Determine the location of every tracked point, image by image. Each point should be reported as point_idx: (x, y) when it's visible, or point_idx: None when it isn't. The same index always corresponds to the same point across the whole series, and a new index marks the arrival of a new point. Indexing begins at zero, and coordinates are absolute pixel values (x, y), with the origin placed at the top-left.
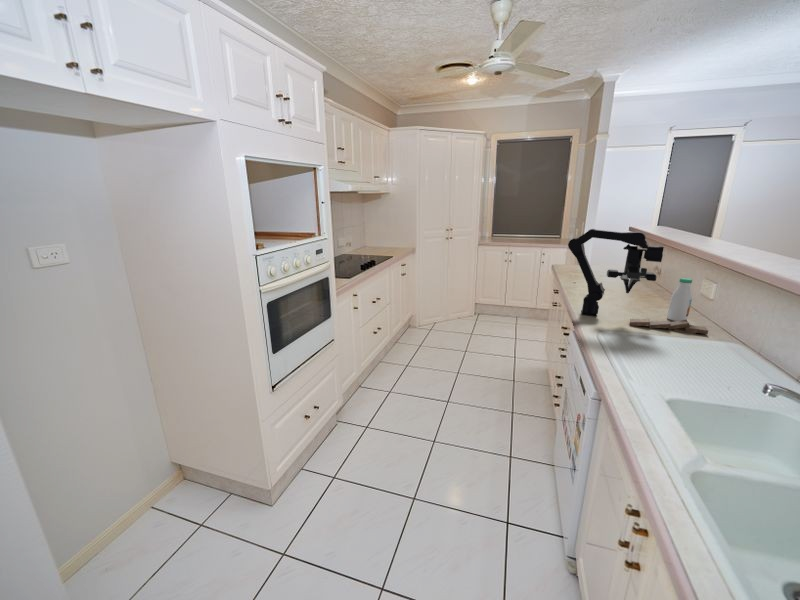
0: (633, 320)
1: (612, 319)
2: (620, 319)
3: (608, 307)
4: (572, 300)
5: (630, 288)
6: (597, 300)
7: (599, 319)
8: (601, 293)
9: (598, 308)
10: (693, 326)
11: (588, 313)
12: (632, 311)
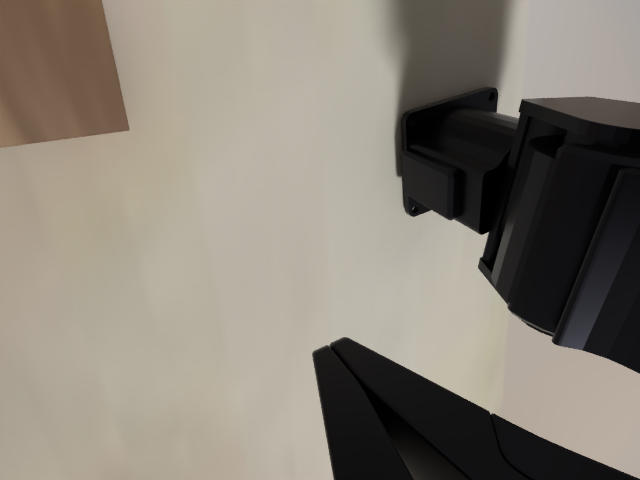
0: (71, 62)
1: (282, 113)
2: (221, 166)
3: None
4: (496, 361)
5: (353, 441)
6: (536, 138)
7: (380, 28)
8: (620, 155)
9: (435, 168)
10: None
11: (463, 106)
12: (182, 447)
